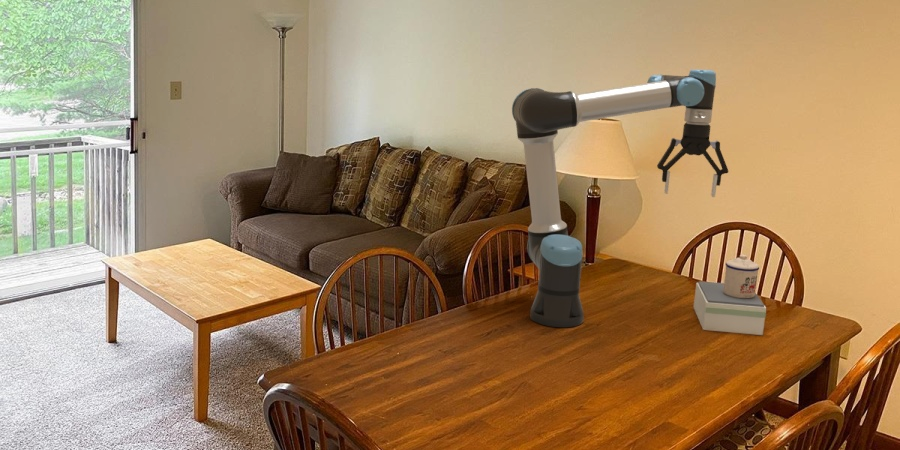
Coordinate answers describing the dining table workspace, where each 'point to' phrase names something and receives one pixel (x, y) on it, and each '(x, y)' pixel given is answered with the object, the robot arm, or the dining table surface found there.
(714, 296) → the stand
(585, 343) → the dining table surface
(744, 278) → the teacup with lid
